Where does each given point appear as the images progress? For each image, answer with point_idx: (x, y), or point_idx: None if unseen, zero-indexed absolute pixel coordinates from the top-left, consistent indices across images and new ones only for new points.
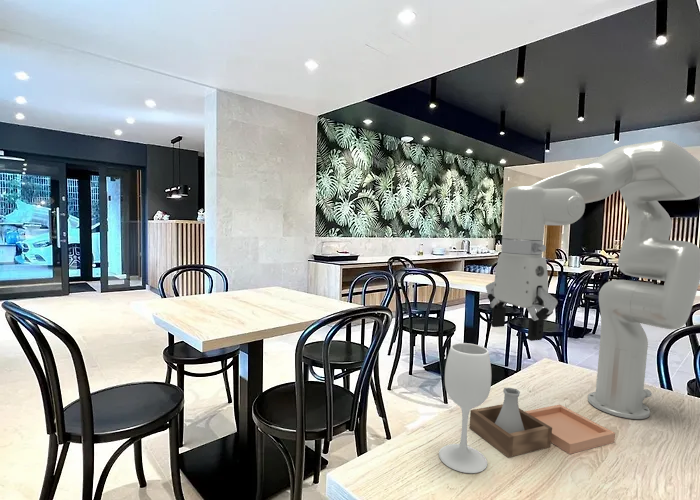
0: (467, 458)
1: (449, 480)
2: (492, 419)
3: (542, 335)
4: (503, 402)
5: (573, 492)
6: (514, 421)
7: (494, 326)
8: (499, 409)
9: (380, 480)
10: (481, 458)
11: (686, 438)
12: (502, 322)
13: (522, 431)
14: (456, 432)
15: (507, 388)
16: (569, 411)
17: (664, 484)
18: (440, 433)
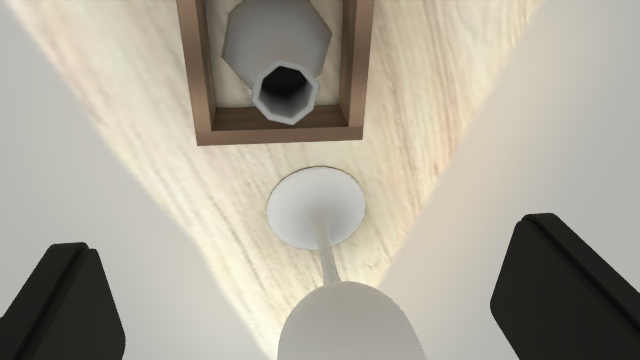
0: (338, 220)
1: (359, 258)
2: (207, 54)
3: (569, 229)
4: (269, 98)
5: (494, 71)
6: (312, 73)
7: (125, 340)
8: (199, 31)
9: None
10: (343, 188)
11: None
12: (86, 297)
13: (354, 82)
14: (216, 165)
15: (258, 90)
16: None
17: None
18: (212, 203)
